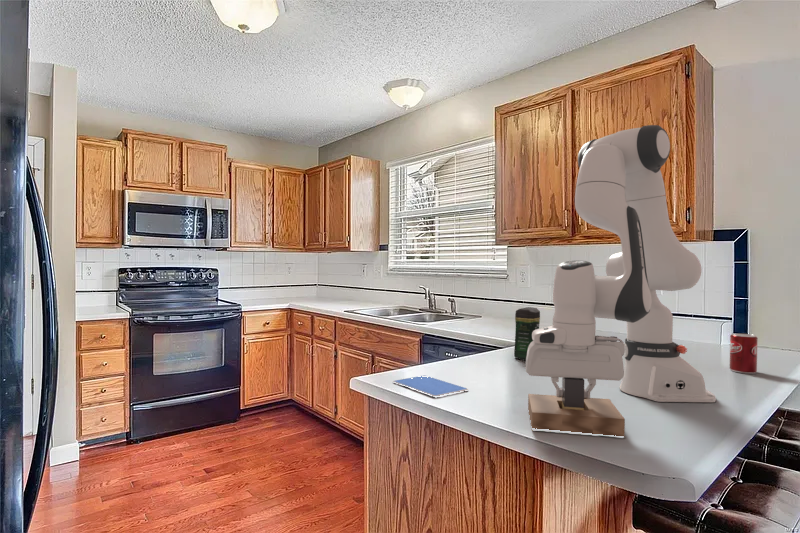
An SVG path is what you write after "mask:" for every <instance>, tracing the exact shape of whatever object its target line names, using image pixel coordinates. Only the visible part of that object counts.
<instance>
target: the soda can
mask: <svg viewBox="0 0 800 533" xmlns="http://www.w3.org/2000/svg"><path fill="white" fill-rule="evenodd" d="M758 342H759V340H758V336H757V335H755V334H749V333H734V332H733V333H731V334H730V336H729V370H730V371H732V372H734V373H739V374H745V375H753V374H756V373H757V372H758Z"/></svg>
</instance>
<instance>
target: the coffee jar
mask: <svg viewBox="0 0 800 533" xmlns="http://www.w3.org/2000/svg"><path fill="white" fill-rule="evenodd" d="M514 320H515V321H514V322H515V333H514V334H515V336H514V349H513V350H514V354H513V356H514V358H516V359H518V360H521V361H526V356H527V351H528V347H529V345H530V343H531V342H532V341H533V339H532V332H533V331H534V330H536V329H540V321H541V312H540V310H539V308H537V307H530V306H527V307H521V308H518V309H516V311H515V316H514Z"/></svg>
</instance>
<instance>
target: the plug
mask: <svg viewBox="0 0 800 533" xmlns="http://www.w3.org/2000/svg"><path fill="white" fill-rule="evenodd" d="M561 378H562V380H561V382H562V384H561V385H562V386H561V388H563V389H564V398H562V409H573V410H584V389H585V379H581V378H563V377H561Z"/></svg>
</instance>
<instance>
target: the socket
mask: <svg viewBox="0 0 800 533" xmlns="http://www.w3.org/2000/svg"><path fill="white" fill-rule="evenodd" d="M527 398H528V399H527V401H528V403H527V406H528V408H527V409H528V410H529V412H528V416H529V415H530V418H529V421H530V420H531V423H530V427H531V426H532V428H535V429H536V428H537V429H549V430H560V431H571V432H582V433H592V434H603V435H614V436H615V435H616V436H624V437H625V431H626V428H625V427H626V426H625V425H626V423H625V422H626V419H625V417H624V416H623V415H622V414H621V412H620V411H619V410H618V408H617V407H616V406H615V405H614V403H613V402H612V400H611V399H610V398H598V397H590V399H584V410H573V409H562V397H557V396H556V394H555V395H553V394H551V395H550V394H536V393H528V397H527ZM528 410H527V411H528Z"/></svg>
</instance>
